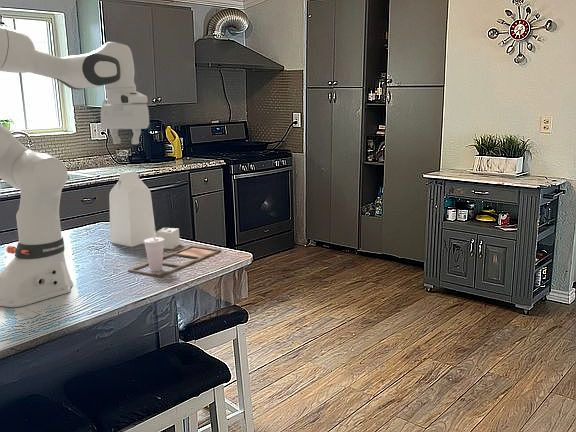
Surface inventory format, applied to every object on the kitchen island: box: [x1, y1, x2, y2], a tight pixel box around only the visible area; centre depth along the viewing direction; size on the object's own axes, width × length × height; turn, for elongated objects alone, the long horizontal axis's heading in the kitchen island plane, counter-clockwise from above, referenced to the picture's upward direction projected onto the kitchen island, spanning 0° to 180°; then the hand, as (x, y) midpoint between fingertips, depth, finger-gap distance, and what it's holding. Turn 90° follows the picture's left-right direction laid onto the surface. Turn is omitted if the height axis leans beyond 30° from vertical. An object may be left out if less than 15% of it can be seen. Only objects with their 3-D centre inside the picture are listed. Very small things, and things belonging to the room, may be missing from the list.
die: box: [156, 227, 181, 250], centre depth 206 cm, size 6×6×6 cm
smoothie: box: [143, 225, 165, 272], centre depth 178 cm, size 6×6×14 cm
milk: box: [108, 170, 157, 248], centre depth 212 cm, size 12×12×26 cm
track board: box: [127, 245, 222, 279], centre depth 188 cm, size 31×13×1 cm, turn 150°
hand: (126, 143), depth 178 cm, fingers open, 8 cm apart
